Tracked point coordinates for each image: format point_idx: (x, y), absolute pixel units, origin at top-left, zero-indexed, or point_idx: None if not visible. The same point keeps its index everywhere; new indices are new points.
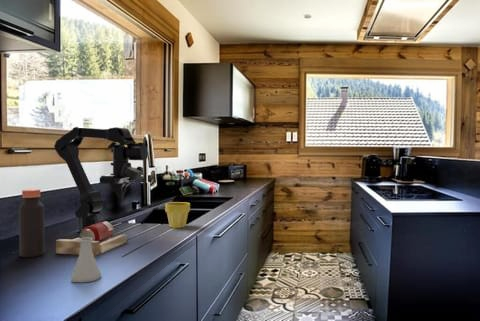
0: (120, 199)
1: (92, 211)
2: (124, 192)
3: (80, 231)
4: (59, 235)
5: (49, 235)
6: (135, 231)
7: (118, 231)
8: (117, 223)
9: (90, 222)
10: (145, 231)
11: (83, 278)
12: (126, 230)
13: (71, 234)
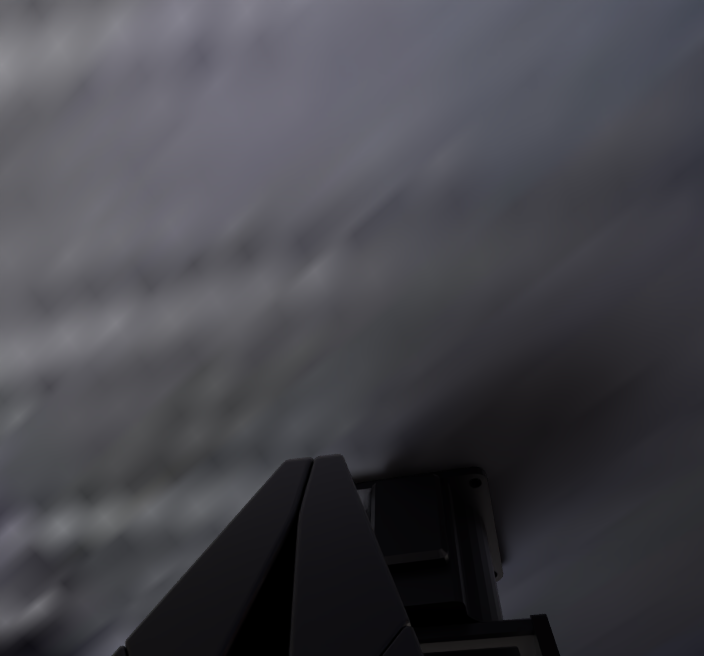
0: (353, 483)
1: (514, 648)
2: (174, 620)
3: (498, 551)
4: (623, 603)
5: (641, 651)
6: (192, 132)
7: (291, 308)
8: (36, 544)
9: (464, 563)
10: (119, 2)
11: None
12: (209, 267)
13: (564, 561)
